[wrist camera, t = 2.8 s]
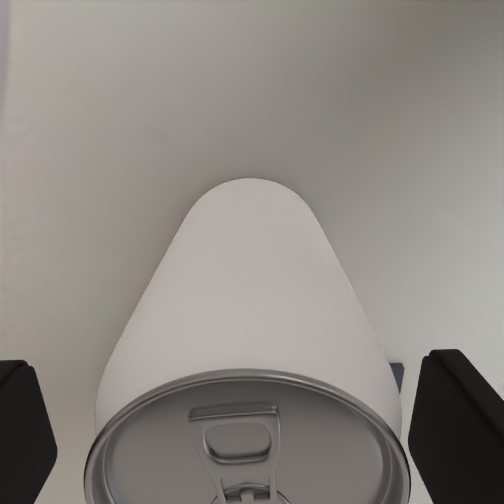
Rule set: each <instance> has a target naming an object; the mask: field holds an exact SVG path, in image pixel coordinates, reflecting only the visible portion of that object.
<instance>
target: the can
mask: <svg viewBox="0 0 504 504" xmlns="http://www.w3.org/2000/svg"><path fill="white" fill-rule="evenodd" d="M401 420H402V415H401V400H400V394H399V390H398V387H397V384H396V381H395V378H394V375H393V372H392V369H391V367H390V365H389V362H388V360H387V358H386V356H385V354H384V351H383V349H382V347H381V345H380V343H379V341H378V339H377V337H376V335H375V333H374V331H373V329H372V327H371V325H370V322H369V320H368V318H367V316H366V314H365V312H364V310H363V309H362V307H361V305H360V303H359V301H358V299H357V297H356V295H355V293H354V291H353V289H352V287H351V285H350V283H349V281H348V279H347V277H346V275H345V273H344V271H343V269H342V267H341V265H340V263H339V261H338V259H337V257H336V255H335V253H334V251H333V249H332V247H331V246H330V244H329V242H328V240H327V238H326V236H325V234H324V232H323V230H322V228H321V226H320V224H319V223H318V221H317V219H316V217H315V215H314V214H313V212H312V210H311V209H310V208H309V206H308V205H307V204H306V203H305V202H304V200H303V199H302V198H301V197H299V196H298V195H297V194H296V193H295V192H293V191H292V190H290V189H289V188H287V187H285V186H283V185H281V184H278V183H276V182H273V181H269V180H265V179H258V178H244V179H237V180H232V181H228V182H225V183H223V184H220V185H218V186H216V187H214V188H213V189H211V190H210V191H208V192H207V193H205V194H204V195H203V196H202V197H201V198H200V199H199V200H198V201H197V202H196V203H195V204H194V205H193V207H192V208H191V209H190V211H189V213H188V214H187V216H186V217H185V219H184V221H183V223H182V224H181V226H180V228H179V230H178V231H177V233H176V235H175V237H174V239H173V240H172V242H171V244H170V246H169V248H168V250H167V251H166V253H165V255H164V257H163V259H162V260H161V262H160V264H159V266H158V268H157V270H156V272H155V273H154V275H153V277H152V279H151V281H150V283H149V284H148V286H147V288H146V290H145V292H144V294H143V296H142V297H141V299H140V301H139V303H138V305H137V307H136V309H135V310H134V312H133V314H132V316H131V318H130V320H129V322H128V324H127V325H126V327H125V329H124V331H123V333H122V335H121V337H120V339H119V341H118V343H117V345H116V347H115V349H114V351H113V353H112V355H111V357H110V359H109V361H108V363H107V365H106V368H105V370H104V373H103V375H102V378H101V381H100V384H99V387H98V391H97V396H96V404H95V431H96V439H95V441H94V443H93V445H92V447H91V449H90V452H89V454H88V457H87V461H86V465H85V470H84V493H85V499H86V503H87V504H408V503H409V498H410V491H411V475H410V468H409V464H408V460H407V457H406V454H405V452H404V449H403V447H402V445H401V443H400V435H401Z"/></svg>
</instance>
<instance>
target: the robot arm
mask: <svg viewBox="0 0 504 504" xmlns="http://www.w3.org/2000/svg"><path fill="white" fill-rule="evenodd" d="M408 446H409V451H410V454H411V456H412V459H413V461H414V463H415V465H416V467H417V469H418V471H419V474H420V476H421V478H422V480H423V482H424V484H425V486H426V488H427V491H428V493H429V495H430V497H431V499H432V501H433V503H434V504H504V401H503V400H502V398H501V397H500V396H499V395H498V394H497V393H496V391H495V390H494V389H493V388H492V387H491V386H490V384H489V383H488V382H487V381H486V380H485V379H484V378H483V376H482V375H481V374H480V373H479V372H478V371H477V369H476V368H475V367H474V366H473V365H472V364H471V362H470V361H469V360H468V359H467V358H466V357H465V356H464V354H463V353H462V352H461V351H459V350H457V349H442V350H432V351H431V352H430V353H429V356H425V357H424V358H423V360H422V365H421V370H420V375H419V381H418V386H417V392H416V397H415V403H414V408H413V414H412V419H411V425H410V430H409V436H408ZM56 458H57V445H56V442H55V438H54V435H53V431H52V428H51V424H50V421H49V417H48V414H47V410H46V407H45V404H44V400H43V397H42V393H41V390H40V386H39V383H38V379H37V376H36V372H35V370H34V368H33V367H32V366H28V363H27V362H26V361H24V360H0V504H34V502H35V500H36V499H37V497H38V495H39V493H40V491H41V489H42V487H43V485H44V483H45V482H46V480H47V478H48V476H49V474H50V472H51V470H52V468H53V466H54V464H55V462H56Z"/></svg>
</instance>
